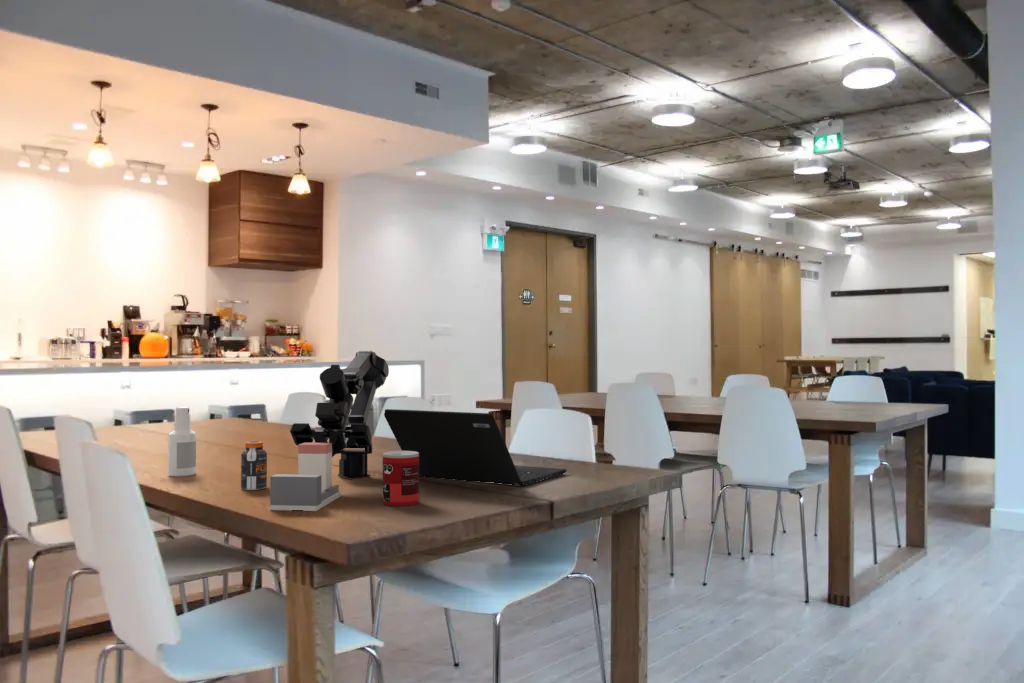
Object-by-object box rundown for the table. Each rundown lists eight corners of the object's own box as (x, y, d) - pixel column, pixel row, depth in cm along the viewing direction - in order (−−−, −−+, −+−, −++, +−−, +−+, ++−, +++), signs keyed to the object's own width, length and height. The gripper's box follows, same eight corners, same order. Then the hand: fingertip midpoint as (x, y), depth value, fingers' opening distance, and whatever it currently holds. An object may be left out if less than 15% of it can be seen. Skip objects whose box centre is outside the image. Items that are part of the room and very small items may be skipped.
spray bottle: (189, 476, 208) (189, 408, 208) (163, 476, 208) (164, 408, 208) (200, 472, 215) (200, 406, 215) (175, 472, 215) (175, 406, 215)
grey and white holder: (299, 494, 183) (299, 464, 183) (341, 495, 182) (341, 465, 182) (269, 510, 166) (269, 476, 166) (316, 510, 165) (316, 477, 165)
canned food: (386, 499, 177) (386, 450, 177) (421, 499, 177) (421, 450, 177) (379, 506, 170) (379, 455, 170) (416, 506, 169) (416, 455, 169)
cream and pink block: (304, 490, 181) (304, 442, 181) (331, 491, 180) (331, 442, 180) (298, 493, 177) (298, 444, 177) (326, 494, 176) (326, 445, 176)
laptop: (568, 476, 212) (568, 403, 212) (492, 498, 180) (492, 413, 180) (466, 466, 229) (466, 399, 230) (380, 485, 197) (380, 407, 198)
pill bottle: (258, 491, 188) (258, 443, 188) (236, 490, 189) (236, 442, 189) (271, 486, 194) (271, 440, 194) (249, 485, 195) (249, 439, 195)
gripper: (292, 389, 190) (274, 440, 179) (368, 390, 188) (355, 441, 177) (304, 419, 198) (287, 470, 187) (377, 420, 196) (364, 471, 185)
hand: (323, 463), depth 184 cm, fingers closed
